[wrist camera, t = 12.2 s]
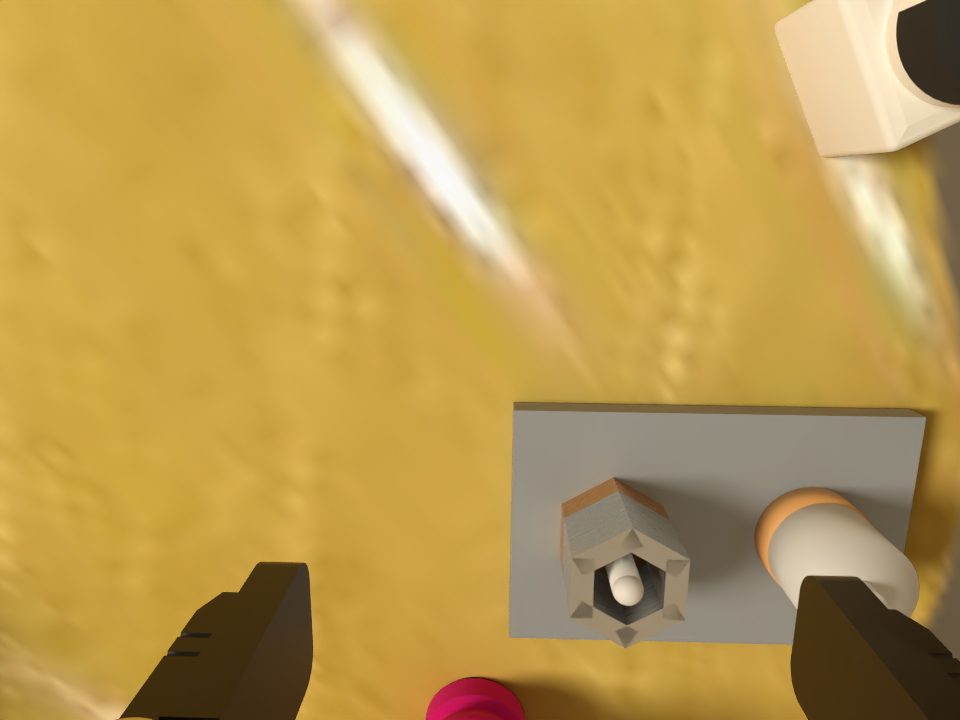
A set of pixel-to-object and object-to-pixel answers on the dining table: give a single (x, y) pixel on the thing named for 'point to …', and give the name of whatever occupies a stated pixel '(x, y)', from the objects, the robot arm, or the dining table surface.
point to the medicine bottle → (874, 71)
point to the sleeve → (609, 536)
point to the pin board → (720, 507)
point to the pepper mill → (474, 702)
